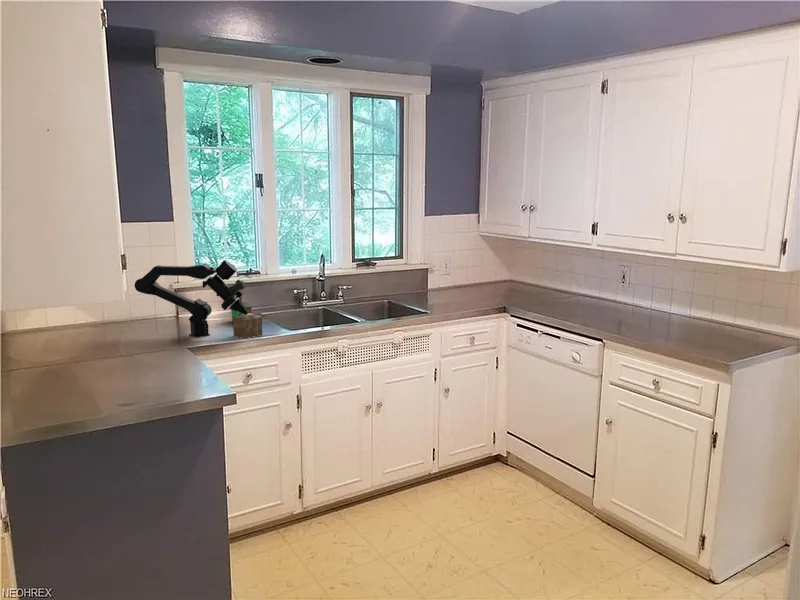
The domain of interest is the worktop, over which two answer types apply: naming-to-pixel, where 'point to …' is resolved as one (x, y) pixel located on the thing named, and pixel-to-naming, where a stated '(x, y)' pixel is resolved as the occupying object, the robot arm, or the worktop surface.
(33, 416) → the worktop surface
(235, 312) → the food container
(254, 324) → the walnut block
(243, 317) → the peg
